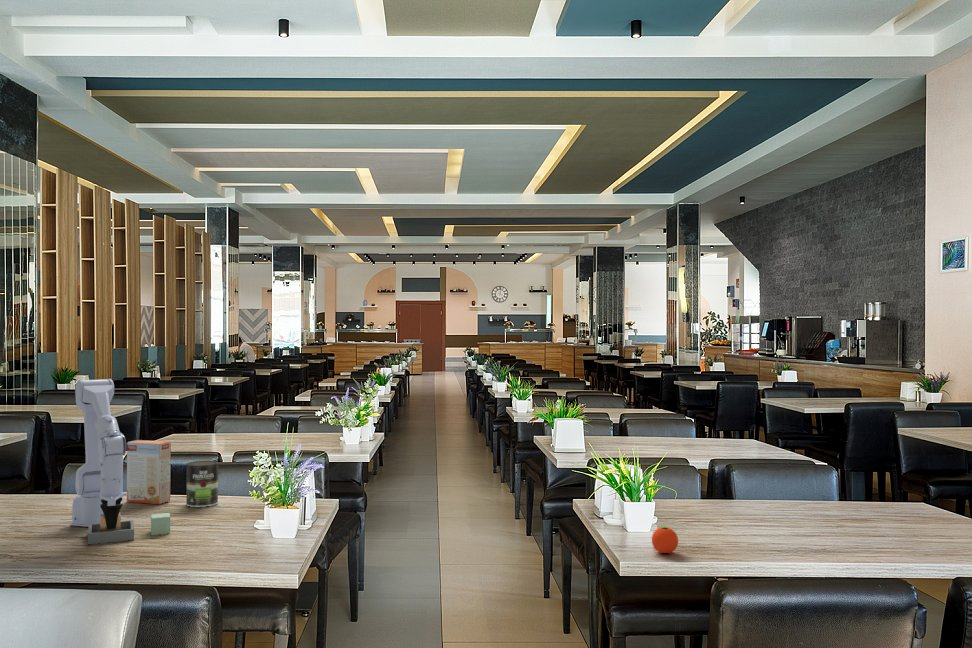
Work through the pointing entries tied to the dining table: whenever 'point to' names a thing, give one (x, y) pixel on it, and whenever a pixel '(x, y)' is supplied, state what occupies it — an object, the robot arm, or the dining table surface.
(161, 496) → the cracker box
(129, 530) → the tote
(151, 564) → the dining table surface
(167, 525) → the light box
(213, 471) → the coffee can
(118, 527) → the brown box
